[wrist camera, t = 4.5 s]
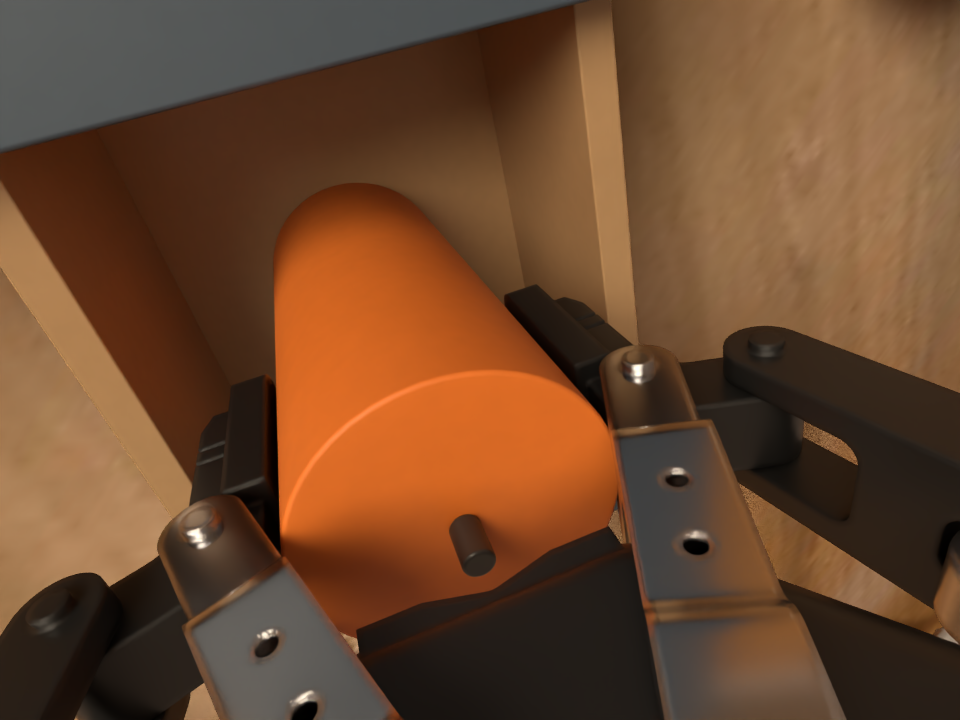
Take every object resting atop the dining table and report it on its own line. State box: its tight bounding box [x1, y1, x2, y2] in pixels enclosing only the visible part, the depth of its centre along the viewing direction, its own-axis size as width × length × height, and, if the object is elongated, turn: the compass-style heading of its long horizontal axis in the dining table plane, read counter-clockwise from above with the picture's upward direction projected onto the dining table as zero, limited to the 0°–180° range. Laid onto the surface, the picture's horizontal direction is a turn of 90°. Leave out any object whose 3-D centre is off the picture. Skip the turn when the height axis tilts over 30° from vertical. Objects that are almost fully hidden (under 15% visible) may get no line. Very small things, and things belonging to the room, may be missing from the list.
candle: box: [273, 183, 618, 638], centre depth 14 cm, size 5×5×13 cm
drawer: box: [0, 0, 639, 519], centre depth 17 cm, size 21×13×8 cm, turn 12°
